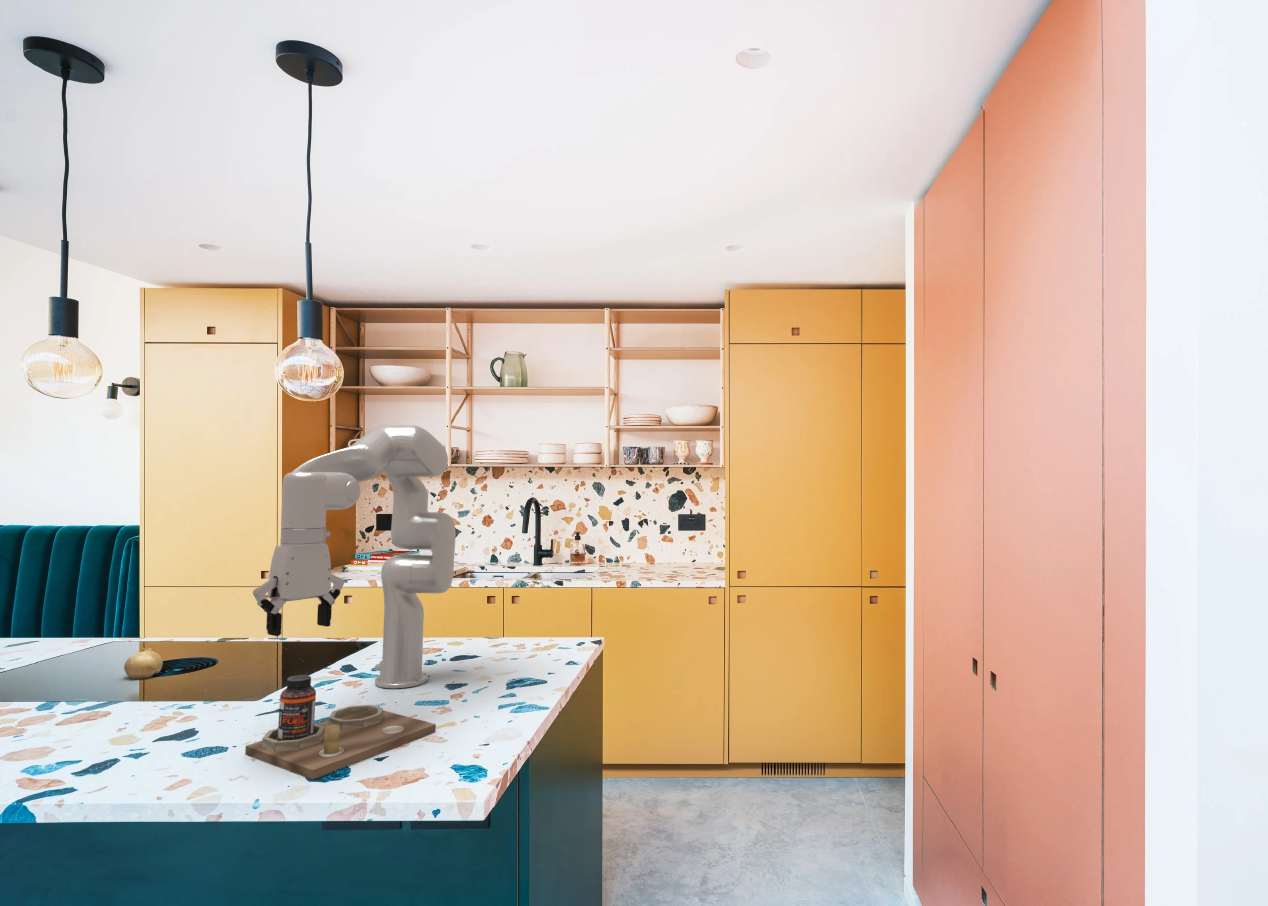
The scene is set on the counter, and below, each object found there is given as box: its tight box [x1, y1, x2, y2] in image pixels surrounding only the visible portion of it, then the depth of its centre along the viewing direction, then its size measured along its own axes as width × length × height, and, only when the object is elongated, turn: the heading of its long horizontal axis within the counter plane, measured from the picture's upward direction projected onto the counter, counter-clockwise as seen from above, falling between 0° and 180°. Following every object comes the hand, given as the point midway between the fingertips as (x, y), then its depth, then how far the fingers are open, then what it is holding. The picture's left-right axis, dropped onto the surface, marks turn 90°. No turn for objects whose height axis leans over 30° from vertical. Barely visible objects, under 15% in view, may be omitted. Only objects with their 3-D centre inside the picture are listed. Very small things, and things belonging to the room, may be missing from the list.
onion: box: [123, 647, 164, 680], centre depth 166 cm, size 8×8×7 cm
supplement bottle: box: [277, 674, 317, 741], centre depth 120 cm, size 6×6×11 cm
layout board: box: [244, 704, 437, 780], centre depth 123 cm, size 20×26×6 cm
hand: (299, 630), depth 121 cm, fingers open, 9 cm apart
